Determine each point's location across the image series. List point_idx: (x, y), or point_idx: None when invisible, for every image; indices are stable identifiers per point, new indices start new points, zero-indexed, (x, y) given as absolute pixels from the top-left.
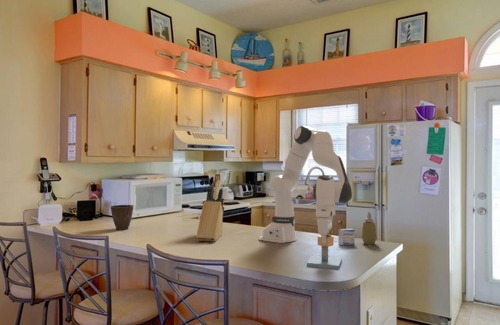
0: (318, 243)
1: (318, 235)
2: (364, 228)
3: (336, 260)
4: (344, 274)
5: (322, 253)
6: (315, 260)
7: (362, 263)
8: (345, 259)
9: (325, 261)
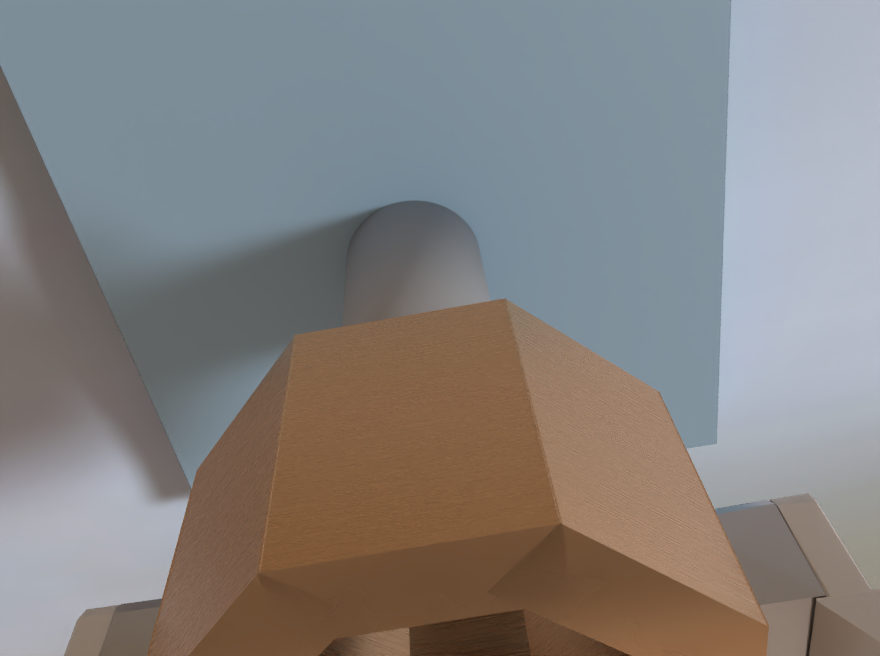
0: (265, 399)
1: (406, 563)
2: None
3: None
4: (37, 588)
5: (345, 317)
6: (289, 104)
7: None
8: (826, 421)
9: (336, 297)
